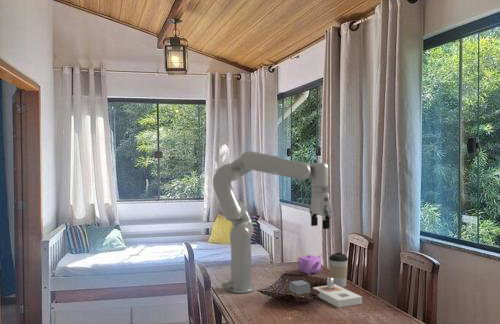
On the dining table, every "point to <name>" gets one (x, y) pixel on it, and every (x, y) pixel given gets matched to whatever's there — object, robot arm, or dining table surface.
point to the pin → (329, 283)
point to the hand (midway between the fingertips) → (320, 227)
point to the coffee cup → (338, 268)
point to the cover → (299, 287)
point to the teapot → (309, 264)
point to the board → (339, 296)
